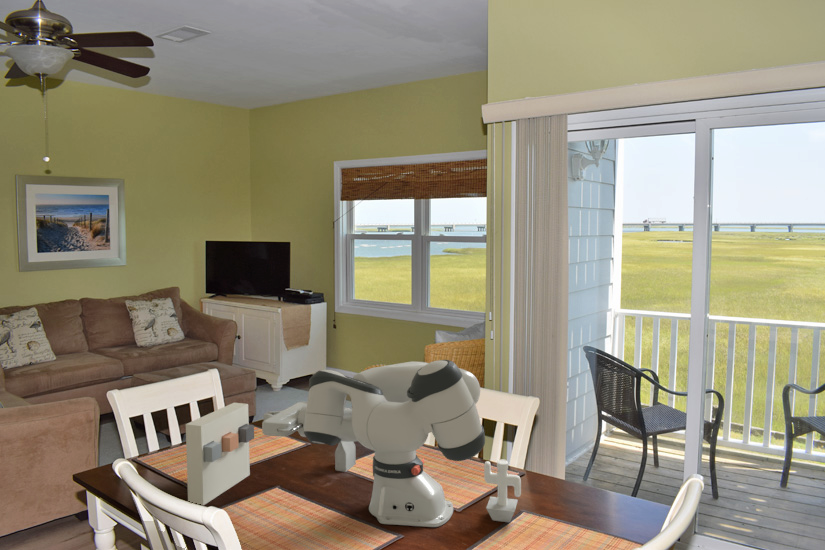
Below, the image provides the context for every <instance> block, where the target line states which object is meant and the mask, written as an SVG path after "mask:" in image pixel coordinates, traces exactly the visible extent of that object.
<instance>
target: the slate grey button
mask: <svg viewBox="0 0 825 550" xmlns="http://www.w3.org/2000/svg"><path fill="white" fill-rule="evenodd" d="M203 451H204V461H207V462H213V461H215V460H217V459H219V458H221V443H218V442H210V443H208V444H206V445H204V446H203Z"/></svg>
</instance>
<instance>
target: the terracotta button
mask: <svg viewBox="0 0 825 550" xmlns="http://www.w3.org/2000/svg"><path fill="white" fill-rule="evenodd" d="M236 448H238V434H236V433H227V434H225V435H224V436H222V451H226V452H231V451H233V450H235V449H236Z"/></svg>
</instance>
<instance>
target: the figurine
mask: <svg viewBox="0 0 825 550" xmlns="http://www.w3.org/2000/svg"><path fill="white" fill-rule="evenodd" d="M483 465H484V471H483V472H484V473H483V475H484V476H483V477H484V478H483V479H484V482H486V483H487V484H491V485H492V484H493V485H497V496H489V498H488V499H489V500H488V503H487V504H486V507H485V509H486V510H487V513H488V514H489V516H490V518H491V520H492V521H496V522H505V523H510V522H511V520H512V518H513V516H514V514H515V512H516V508H517V504H518V501H519V499H516V498H519V497H521V494H522V479H521V477H520V476H519V475H517V474H510V473H509V474H508V469H509V462H508V461H507V459H505V458H504V459H503V458H500V459H499V460H497V462H496V468H497V472H492V467H491V466H492V465H491V462H490V460H489V461H487V460H486V461H485V462H484V464H483ZM509 486H510V487H511V486H512V487H513V489H514V493H513V494H514V496H515V498H508V487H509Z"/></svg>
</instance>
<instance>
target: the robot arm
mask: <svg viewBox="0 0 825 550" xmlns="http://www.w3.org/2000/svg"><path fill="white" fill-rule="evenodd" d="M480 395H481V385H480V383H479V380H478V379H477V377H476V376H475V375H474V374H473V373H472V372H470V371H469V370H466V369H463V368H460V367H458V365H457V364H456V363H455V362H454V361H452V360H449V359H439V360H434V361H431V362H425V361H407V362H406V361H405V362H399V363H394V364H388V365H382V366H377V367H376V366H375V367H370V368H367V369H365V370H363V371H360V372H358V373H355V374H354V376H353V377H350V376H347V375H344V374H342V373H341V372H339V371H336V370H332V369H321V370H318V371H316V372H315V373H313V375H312V376H311V377H310V378H309V383H308V396H307V401H299V402H296V403H294V404H292V405H291V406H289V407H287V408H285V409H283V410H277V411H270V410H269V411H268V412H266V413H264V414H263V415H262V419H263V421H262V423H261V424H262V425H261V426H262V427H261V428H262V430H261V432H262V434H263V435H264V436H267V437H270V436H271V437H288V436H291V435H292V434H294V433H296V432H298V434H299V435H300V437H303V438H307V440H308V441H309V442H310V444H316V445H328V446H331V447H335V446H336V445H338V444H339V442H340V441H346V442H352V441H354V442H358V443H359V444H360V445H362V446H363V448H364V447H365V448H366V449H369V450H370V451H374V455H373V457H372V476H373V486H372V493H371V499H370V503H369V505H368V511H369V513H370V514H371V515H372V516H374V517H375V518H376V519H377V521H378V522H379V523H380V524H382V525H395V526H396V525H398V526H412V527H424V528H425V527H427V528H438V527H441V526H442V525H444V524H446V523H447V522H448V521H449V520H450V519H451V517H452V516H453V513H454V505H453V502H452V501H450V500H446V497H445V492H444V489H443V486H442V485H441V483H439V482H438V481H436V479H434V478H433V477H431V476H430V475H429V474H428V473H427V472H425V471H424V464H425V458H424V457H423V458H422V460H421V459H420V458H419V457H418V455H417V450H418V449H420V448H422V447H423V445H425V443H426V441H427V440H428V437H429V434H430V433H431V434H432V435H433V437H434V439H435V441H436V443H437V444H436V445H437V447H438V449H439V451H440V452H441V454H442V455H443V456H444V457H445V458H446V459H447V460H448V461H453V462H463V461H467V460H470V459H472V458H473V457H475V456H477V455H478V454H479V453H480V452H481V451H482V449H483V448H484V446H485V445H486V435H485V429H484V426H483V424H482V423H481V419H480V414H479V412H478V409H477V406H476V405H477V403H478V401H479V400H480ZM347 396H349V397H350V401H351V408H349V407H346V402H347V401H346V400H347Z"/></svg>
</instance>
